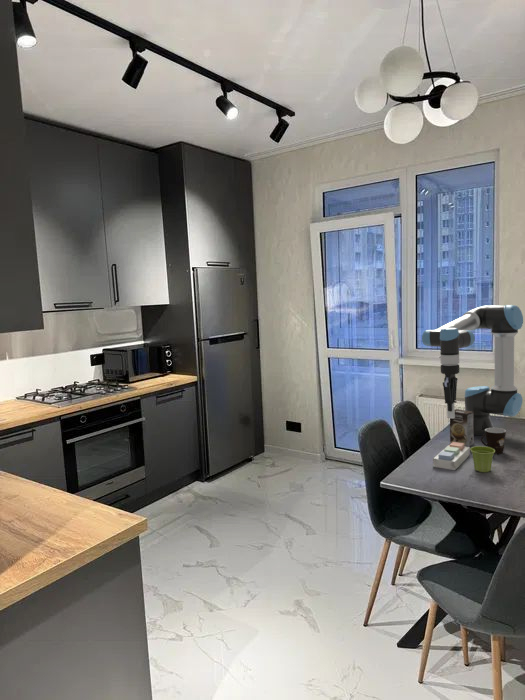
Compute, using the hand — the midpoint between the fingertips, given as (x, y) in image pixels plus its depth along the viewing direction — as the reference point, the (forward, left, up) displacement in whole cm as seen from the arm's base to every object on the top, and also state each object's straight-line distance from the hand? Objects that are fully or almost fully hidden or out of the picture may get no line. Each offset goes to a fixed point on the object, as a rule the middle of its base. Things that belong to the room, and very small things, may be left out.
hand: (451, 417), depth 220 cm
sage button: (0, 0, -17) cm, 17 cm away
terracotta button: (-8, 0, -17) cm, 18 cm away
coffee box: (-25, -3, -19) cm, 32 cm away
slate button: (+7, 0, -17) cm, 18 cm away
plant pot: (+6, +14, -19) cm, 25 cm away
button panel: (0, 0, -19) cm, 19 cm away
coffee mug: (-19, +12, -19) cm, 30 cm away
